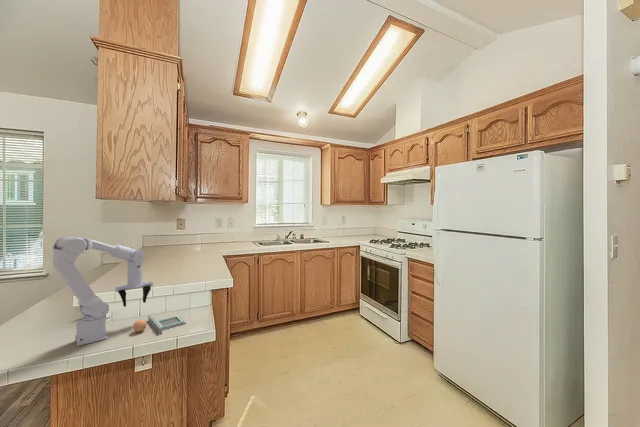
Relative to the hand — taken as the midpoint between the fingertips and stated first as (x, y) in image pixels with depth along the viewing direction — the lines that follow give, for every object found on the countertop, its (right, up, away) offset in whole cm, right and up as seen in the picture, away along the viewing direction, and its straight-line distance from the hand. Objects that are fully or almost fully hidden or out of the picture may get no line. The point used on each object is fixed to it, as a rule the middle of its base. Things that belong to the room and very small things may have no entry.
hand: (134, 304), depth 126 cm
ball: (+8, -7, -8) cm, 13 cm away
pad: (+16, -10, +1) cm, 19 cm away
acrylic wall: (+11, -10, -3) cm, 15 cm away
